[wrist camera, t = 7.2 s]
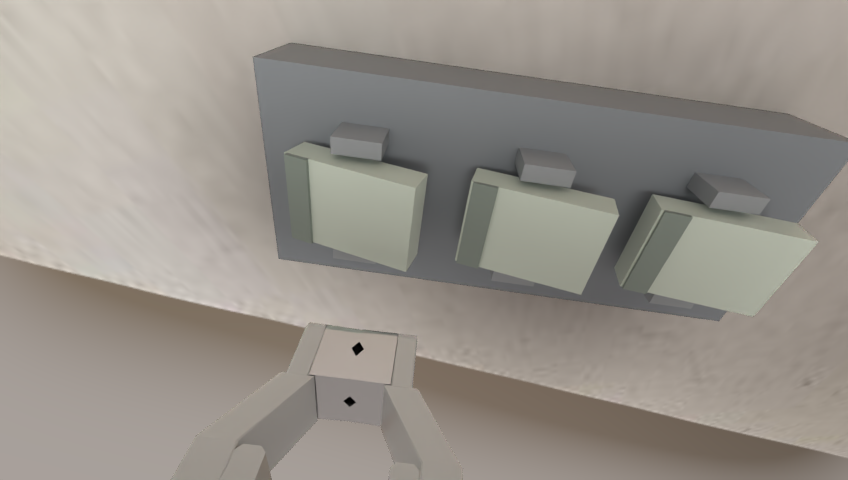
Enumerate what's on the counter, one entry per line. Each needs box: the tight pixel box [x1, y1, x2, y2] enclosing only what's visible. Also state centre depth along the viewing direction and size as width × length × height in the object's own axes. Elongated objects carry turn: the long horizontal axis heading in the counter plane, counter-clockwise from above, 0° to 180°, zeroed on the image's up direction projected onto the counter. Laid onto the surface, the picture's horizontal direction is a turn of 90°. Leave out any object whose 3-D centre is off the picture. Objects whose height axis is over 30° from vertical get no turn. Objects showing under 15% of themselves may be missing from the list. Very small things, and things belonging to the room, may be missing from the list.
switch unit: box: [253, 43, 848, 321], centre depth 19 cm, size 24×10×6 cm, turn 83°
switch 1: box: [284, 142, 428, 272], centre depth 16 cm, size 6×4×2 cm
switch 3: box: [614, 194, 818, 317], centre depth 16 cm, size 6×4×2 cm
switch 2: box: [455, 168, 619, 295], centre depth 16 cm, size 6×4×2 cm
